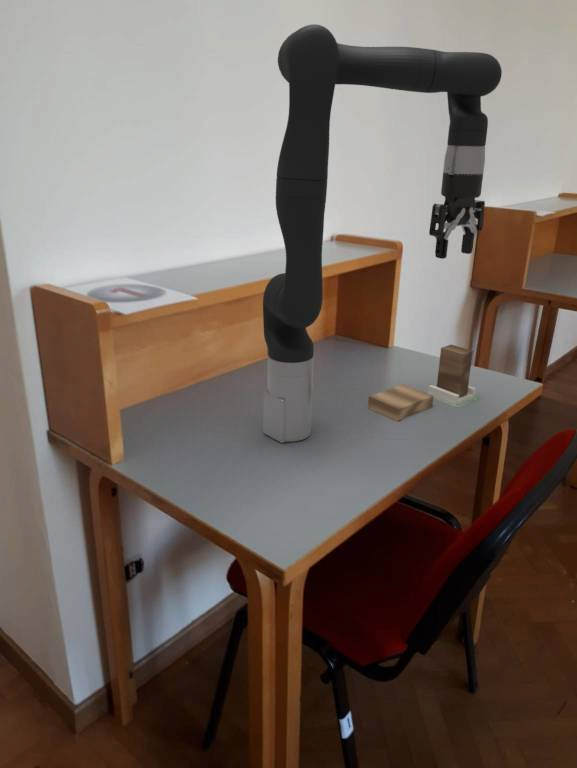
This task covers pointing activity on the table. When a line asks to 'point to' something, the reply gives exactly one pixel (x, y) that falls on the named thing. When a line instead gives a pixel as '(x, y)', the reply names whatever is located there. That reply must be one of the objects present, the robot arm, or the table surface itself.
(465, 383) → the tall wooden pillar
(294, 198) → the robot arm
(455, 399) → the rack
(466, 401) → the mat
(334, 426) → the table surface
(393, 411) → the flat wooden block
